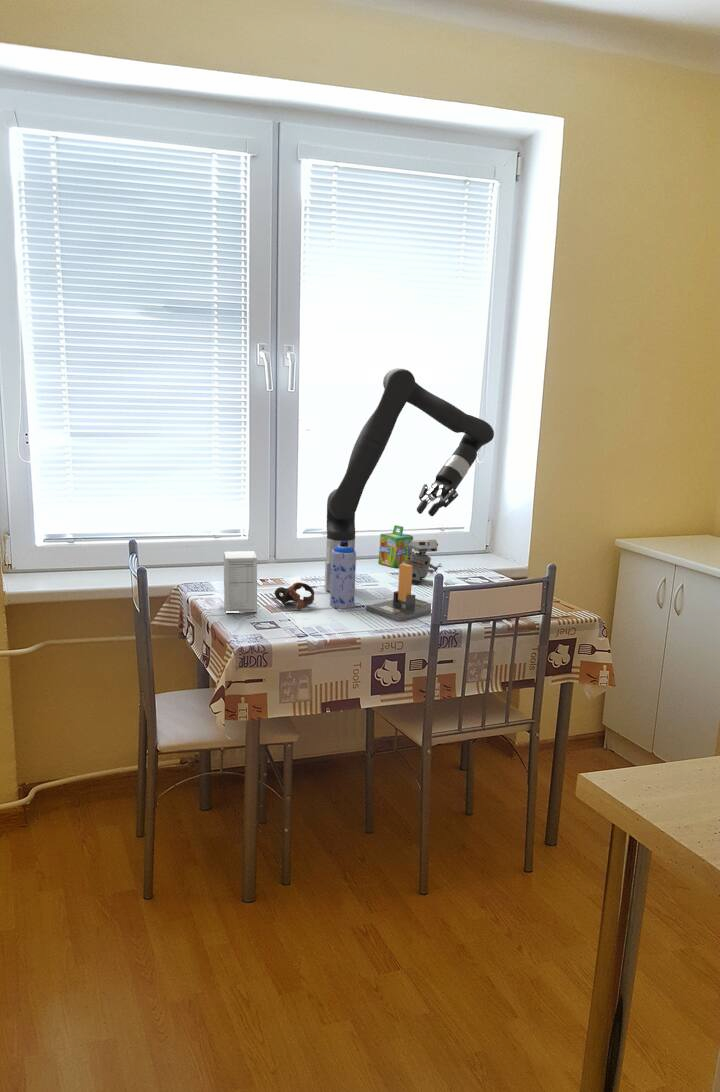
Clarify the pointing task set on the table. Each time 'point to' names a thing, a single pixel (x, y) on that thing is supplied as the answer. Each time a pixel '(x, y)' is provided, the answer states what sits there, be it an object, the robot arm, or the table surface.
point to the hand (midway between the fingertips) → (424, 513)
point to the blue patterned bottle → (343, 576)
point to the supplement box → (240, 581)
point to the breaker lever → (404, 582)
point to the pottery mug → (295, 595)
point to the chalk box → (394, 548)
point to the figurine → (421, 558)
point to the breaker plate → (401, 608)
